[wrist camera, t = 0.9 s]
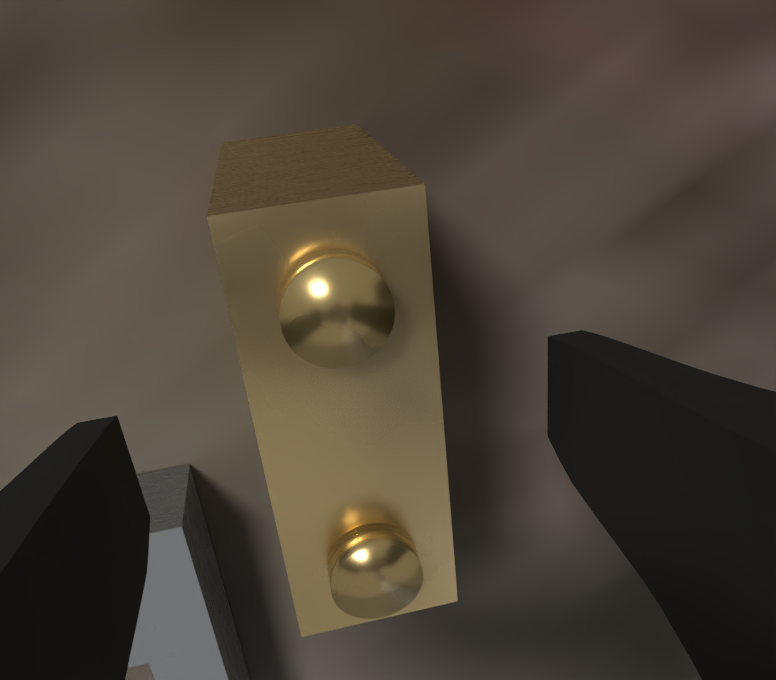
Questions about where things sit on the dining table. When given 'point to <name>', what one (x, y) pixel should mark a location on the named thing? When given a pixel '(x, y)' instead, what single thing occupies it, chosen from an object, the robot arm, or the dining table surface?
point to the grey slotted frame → (183, 589)
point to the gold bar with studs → (339, 367)
